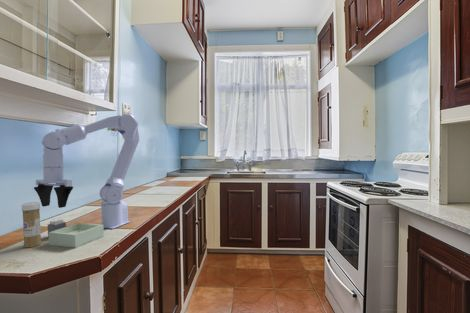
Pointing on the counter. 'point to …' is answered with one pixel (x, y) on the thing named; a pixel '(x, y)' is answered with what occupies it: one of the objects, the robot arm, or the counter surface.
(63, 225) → the grey plug
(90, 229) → the green box
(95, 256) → the counter surface
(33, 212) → the sprinkles bottle
